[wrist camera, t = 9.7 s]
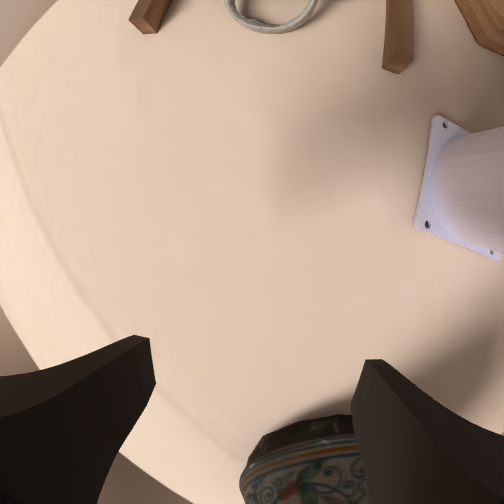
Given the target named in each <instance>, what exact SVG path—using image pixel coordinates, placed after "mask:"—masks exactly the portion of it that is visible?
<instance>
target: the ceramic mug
mask: <svg viewBox="0 0 504 504" xmlns="http://www.w3.org/2000/svg"><path fill="white" fill-rule="evenodd" d="M317 3H318V0H310V2H309V4H308V5H307V7H306V8H305V10H304V11H303V12H302V13H301V14H300V15H299V16H297V17H295V18H294V19H293V20H290V21H289V22H287V23H285V24H283V25H280V26H278V25H271V24H265V23H261V22H258V21H257V20H256V19H254V18H252V19H249V18H246V17H245V16H243V15H240V14H239V13H238V12H237V10H236V6H235V0H225V4H226V7H227V10H228V12H229V13H230V15H231V16H232V17H233V18H234V19H235V20H236V21H237V22H238V23H240V24H241V25H242V26H244V27H246V28H248V29H250V30H252V31H256V32H260V33H266V34H281V33H286V32H290V31H293V30H295V29H297V28H298V27H300V26H301V25H303V24H304V23H305V22H306V21H307V20H308V19H309V18H310V17H311V15H312V13H313V11H314V9H315V7H316V5H317Z"/></svg>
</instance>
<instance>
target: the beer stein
mask: <svg viewBox="0 0 504 504" xmlns="http://www.w3.org/2000/svg"><path fill="white" fill-rule="evenodd" d="M239 487H240V491H241V494H242V496H243V498H244V501H245V504H368V491H367V484H366V478H365V474H364V470H363V466H362V461H361V457H360V453H359V449H358V445H357V441H356V437H355V433H354V429H353V421H352V415H335V416H330V417H324V418H319V419H313V420H307V421H300V422H297V423H295V424H292V425H290V426H288V427H285V428H283V429H280V430H278V431H275V432H273V433H270V434H267V435H265V436H263V437H262V438H261V440H260V441H259V443H258V444H257V446H256V447H255V449H254V450H253V452H252V453H251V455H250V456H249V458H248V462H247V466H246V468H245V469H244V471H243V473H242V474H241V477H240V481H239Z"/></svg>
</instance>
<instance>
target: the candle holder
mask: <svg viewBox="0 0 504 504" xmlns="http://www.w3.org/2000/svg"><path fill="white" fill-rule="evenodd" d="M454 1H455V2H456V4H457V6H458V8H459V9H460V11H461V13H462V15H463V17H464V19H465V21H466V23H467V25H468V27H469V29H470V30H471V32H472V34H473V36H474V38H475V40H476V42H477V43H478V44H479V45H480V46H482V47H484V48H486V49H489V50H491V51H493V52H496V53H498V54H501V55H503V56H504V0H454Z"/></svg>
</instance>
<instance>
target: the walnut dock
mask: <svg viewBox="0 0 504 504" xmlns="http://www.w3.org/2000/svg"><path fill="white" fill-rule="evenodd" d="M171 2H172V0H139V1H138V2H137V4H136V6H135V8H134V10H133V12H132V14H131V16H130V18H129V21H130V22H131V23H132V24H133V25H134V26H135V27H136V28H137V29H139V30H140V31H141V32H142V33H143V34H152V33H157V31H158V29H159V27H160V25H161V22H162V20H163V18H164V16H165V14H166V12H167V10H168V8H169V6H170V4H171ZM412 58H413V12H412V0H387V2H386V27H385V42H384V53H383V63H382V68H383V69H386V70H388V71H391V72H393V73H396V74H399V73H400V72H401V71H402V70H403V69H404V68H405V67H406V66H407V65H408V64H410V63H411V62H412Z"/></svg>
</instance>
